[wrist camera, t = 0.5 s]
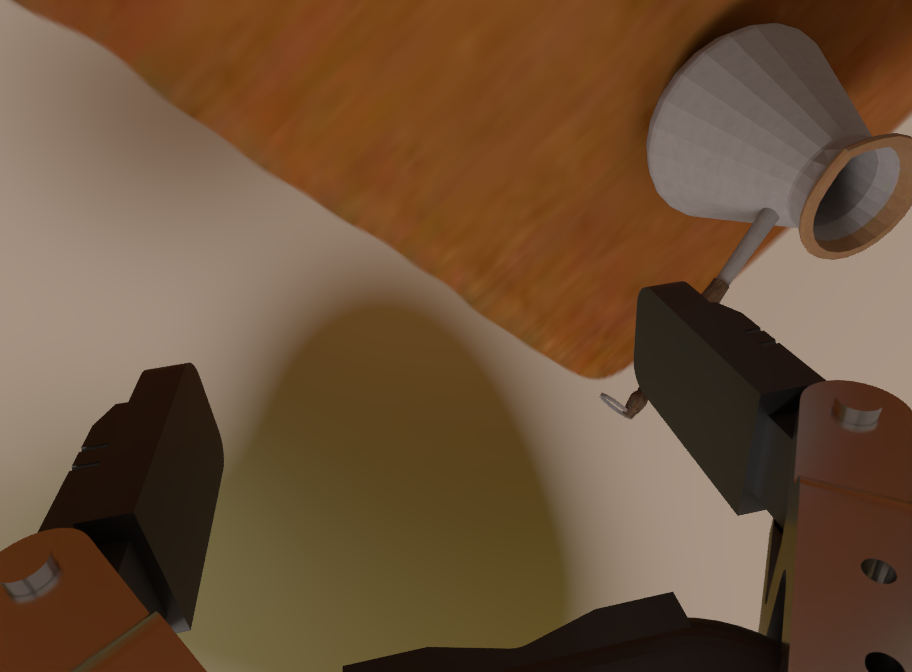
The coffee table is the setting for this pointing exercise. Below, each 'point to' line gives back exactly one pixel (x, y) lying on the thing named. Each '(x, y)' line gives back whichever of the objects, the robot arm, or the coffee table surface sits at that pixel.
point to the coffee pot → (773, 152)
